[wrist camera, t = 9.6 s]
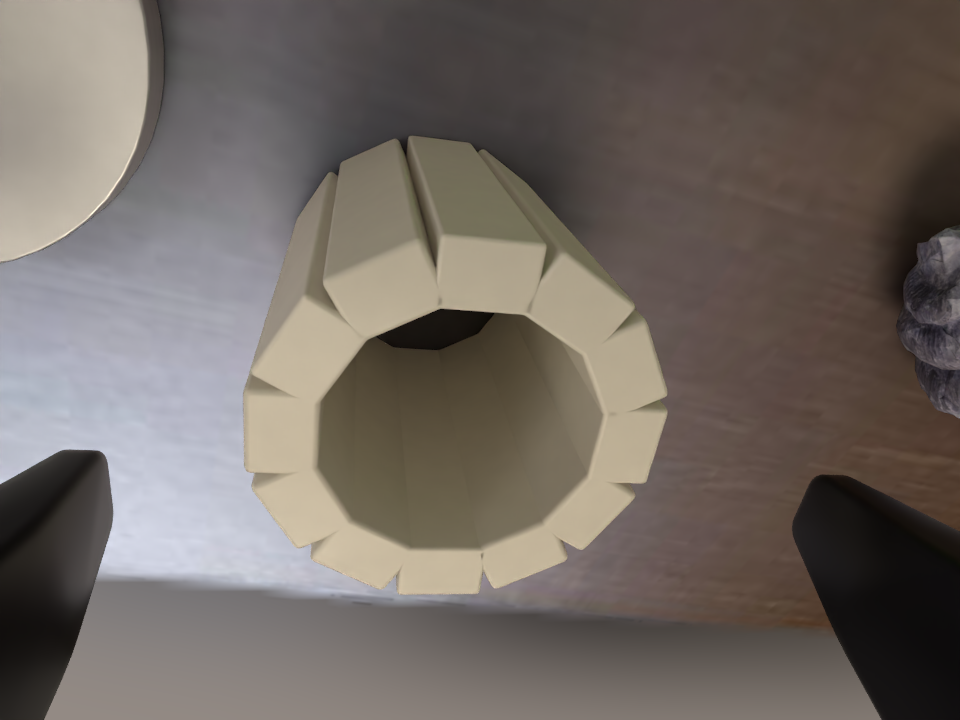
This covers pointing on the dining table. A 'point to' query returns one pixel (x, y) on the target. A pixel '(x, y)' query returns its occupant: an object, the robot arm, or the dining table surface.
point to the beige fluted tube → (446, 379)
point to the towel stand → (72, 111)
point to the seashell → (935, 319)
